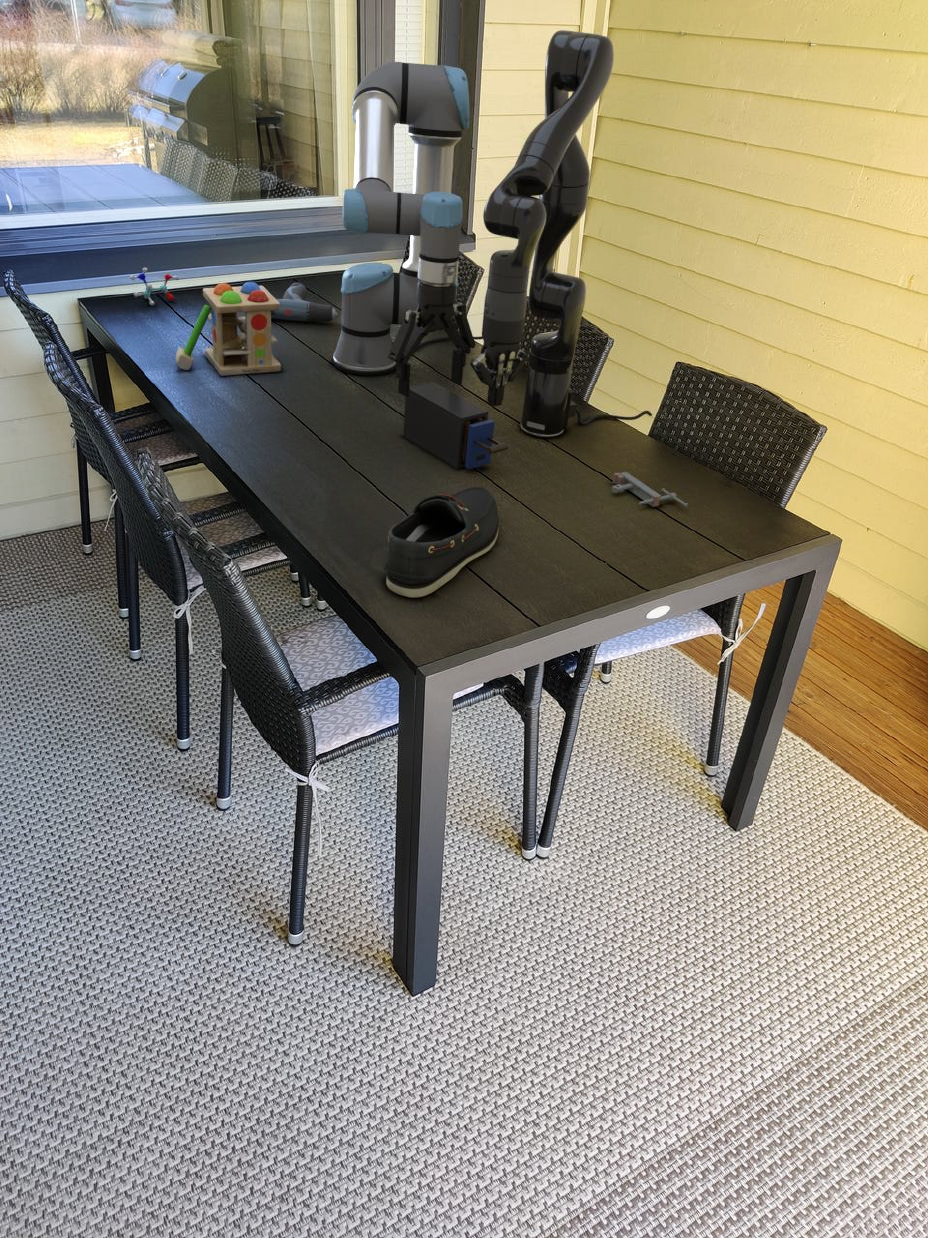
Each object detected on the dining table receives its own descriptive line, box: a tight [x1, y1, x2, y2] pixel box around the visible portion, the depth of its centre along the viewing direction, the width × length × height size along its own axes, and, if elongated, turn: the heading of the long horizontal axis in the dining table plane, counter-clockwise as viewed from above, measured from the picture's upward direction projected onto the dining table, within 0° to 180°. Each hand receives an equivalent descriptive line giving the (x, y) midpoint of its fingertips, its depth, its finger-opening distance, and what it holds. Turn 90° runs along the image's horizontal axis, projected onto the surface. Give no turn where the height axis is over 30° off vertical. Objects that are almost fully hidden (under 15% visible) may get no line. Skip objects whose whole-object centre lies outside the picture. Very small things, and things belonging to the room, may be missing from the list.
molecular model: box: [129, 267, 180, 307], centre depth 263 cm, size 12×10×10 cm
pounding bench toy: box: [174, 281, 282, 377], centre depth 225 cm, size 23×14×18 cm, turn 116°
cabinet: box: [403, 381, 489, 470], centre depth 199 cm, size 18×7×11 cm, turn 40°
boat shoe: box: [383, 486, 500, 598], centre depth 165 cm, size 13×33×10 cm, turn 147°
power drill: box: [271, 282, 338, 322], centre depth 265 cm, size 5×19×20 cm
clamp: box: [611, 471, 689, 509], centre depth 190 cm, size 15×2×10 cm
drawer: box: [461, 417, 509, 470], centre depth 195 cm, size 22×6×9 cm, turn 40°
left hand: (430, 388), depth 199 cm, fingers open, 13 cm apart
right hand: (494, 404), depth 185 cm, fingers closed
